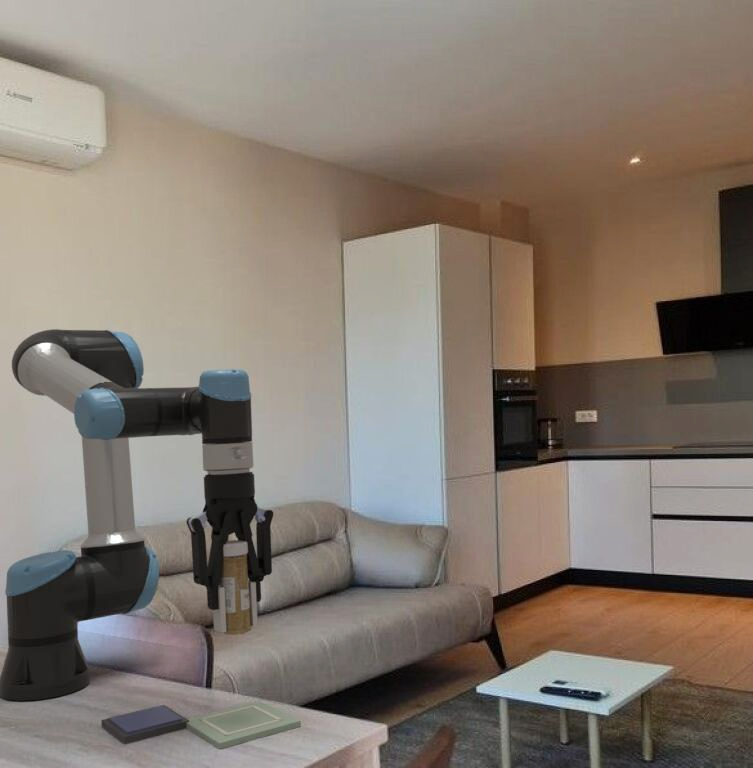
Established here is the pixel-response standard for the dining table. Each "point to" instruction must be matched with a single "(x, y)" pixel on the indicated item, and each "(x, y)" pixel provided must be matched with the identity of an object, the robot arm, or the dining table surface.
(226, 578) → the sprinkles bottle
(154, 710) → the ink pad
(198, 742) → the dining table surface
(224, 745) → the board
